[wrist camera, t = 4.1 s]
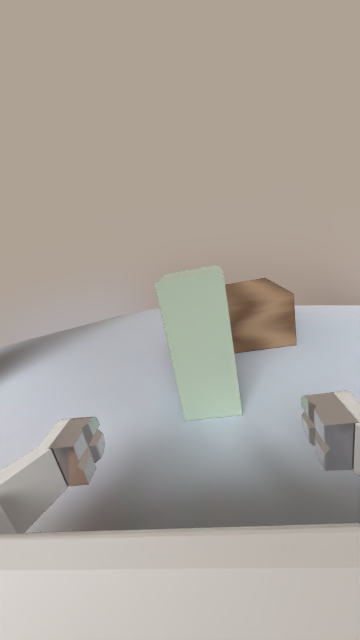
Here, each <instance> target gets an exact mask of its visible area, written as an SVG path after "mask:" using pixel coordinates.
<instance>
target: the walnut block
mask: <svg viewBox="0 0 360 640" xmlns="http://www.w3.org/2000/svg"><path fill="white" fill-rule="evenodd" d="M225 289H226V296H227V304H228V311H229V318H230V326H231V333H232V341H233V348H234V353H239V352H246V351H254V350H261V349H269V348H276V347H284V346H291V345H296V328H295V308H294V294H293V293H292V292H290V291H288V290H286V289H284V288H283V287H281V286H279V285H277V284H275V283H274V282H272V281H270V280H268V279H266V278H261V279H256V280H250V281H244V282H238V283H232V284H227V285H225Z"/></svg>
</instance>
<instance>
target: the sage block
mask: <svg viewBox="0 0 360 640" xmlns="http://www.w3.org/2000/svg"><path fill="white" fill-rule="evenodd" d="M155 288H156V293H157V297H158V302H159V306H160V311H161V315H162V320H163V324H164V329H165V333H166V338H167V342H168V347H169V351H170V356H171V360H172V365H173V369H174V374H175V378H176V383H177V387H178V392H179V396H180V401H181V405H182V410H183V414H184V419H185V421H188V420H198V419H209V418H219V417H229V416H240V415H242V407H241V400H240V392H239V385H238V378H237V370H236V363H235V355H234V348H233V341H232V333H231V326H230V318H229V311H228V304H227V296H226V289H225V282H224V274H223V271H222V270H221V268H220V267H219V266H218V265H215V266H209V267H205V268H199V269H193V270H188V271H183V272H177V273H172V274H166V275H165V276H163V277H162V278H161V279H160V280H159V281H158V282H157V283H156V284H155Z"/></svg>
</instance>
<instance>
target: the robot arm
mask: <svg viewBox="0 0 360 640" xmlns="http://www.w3.org/2000/svg"><path fill="white" fill-rule="evenodd" d="M301 406H302V407H303V409H304V411H305V412H304V413H303V414H302V424H303V428H304V432H305V434H306V437H307V439H308V441H309V442H310V443H311V444H313V445H314V446H315V454H316V455H317V457H318V459H319V461H320V463H321V464H322V466H323V468H324V470H325V471H328V470H353V471H354V472H355V473H357V474H358V475H359V476H360V402H359V401H358V400H357V399H356V398H355V397H354V396H353V395H352V394H351V393H350V392H348V391H346V390H344V391H336V392H331V393H323V394H314V395H304V396H302V398H301ZM99 425H100V424H99V421H98V419H97V418H96V417H82V418H72V419H62V420H60V421H58V422H57V423H56V425H55V426H54V427H53V428H52V430H51V431H50V432H49V433H48V434H47V436H46V437H45V438H44V439H43V441H42V442H41V443H40V444H39V446H38V447H37V448H36V449H35V450H32V451H30V452H28V453H27V454H25V455H24V456H22V457H21V458H19V459H18V460H16V461H15V462H13V463H12V464H10V465H8V466H7V467H5V468H4V469H2V470H1V471H0V640H360V523H345V524H312V525H279V526H246V527H214V528H180V529H147V530H114V531H81V532H48V533H24V532H25V531H26V530H27V529H28V528H29V527H30V526H31V525H32V524H33V523H34V522H35V521H36V520H37V519H38V518H39V517H40V516H41V515H42V514H43V513H44V512H45V511H46V510H47V509H48V508H49V507H50V506H51V505H52V504H53V503H54V502H55V500H56V499H57V498H58V497H59V496H60V495H61V494H62V493H63V492H64V491H65V490H66V489H67V488H68V486H79V485H89V483H90V481H91V479H92V477H93V474H94V472H95V470H96V465H95V463H96V462H97V461H98V460H100V459H101V457H102V455H103V453H104V448H105V439H104V435H103V433H102V432H101V431H100V430H98V428H99Z"/></svg>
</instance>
